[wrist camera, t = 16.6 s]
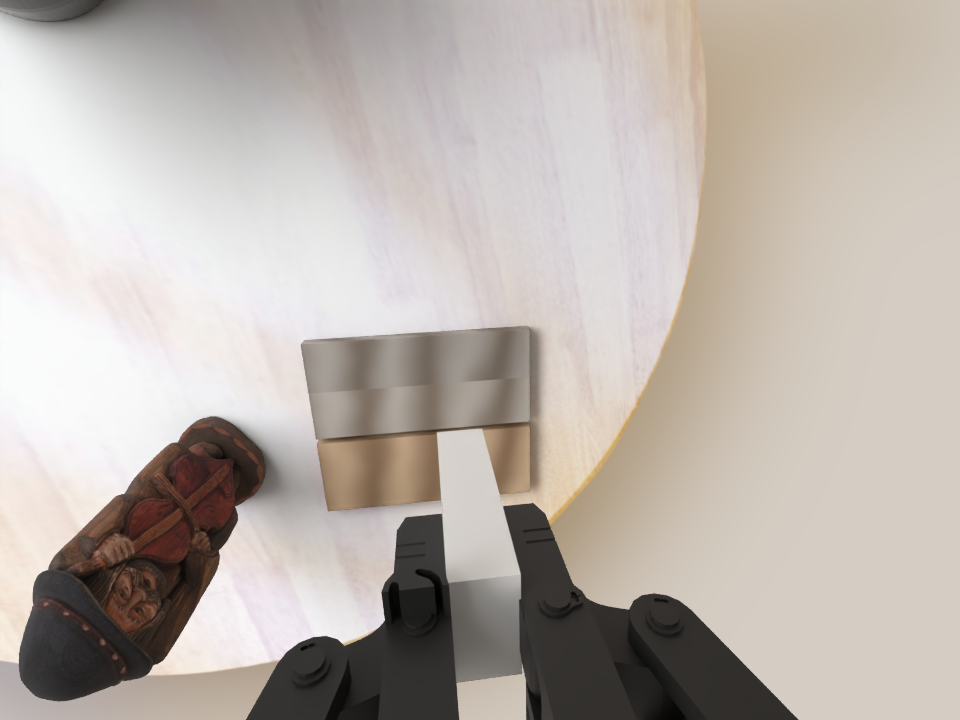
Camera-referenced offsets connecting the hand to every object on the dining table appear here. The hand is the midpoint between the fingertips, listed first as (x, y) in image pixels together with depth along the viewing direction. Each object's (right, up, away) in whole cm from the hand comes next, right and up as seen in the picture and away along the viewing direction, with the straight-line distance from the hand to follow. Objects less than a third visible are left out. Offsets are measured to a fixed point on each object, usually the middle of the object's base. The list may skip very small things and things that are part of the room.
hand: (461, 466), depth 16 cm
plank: (-5, -8, +36) cm, 37 cm away
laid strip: (-5, +2, +33) cm, 34 cm away
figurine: (-26, -6, +34) cm, 43 cm away
